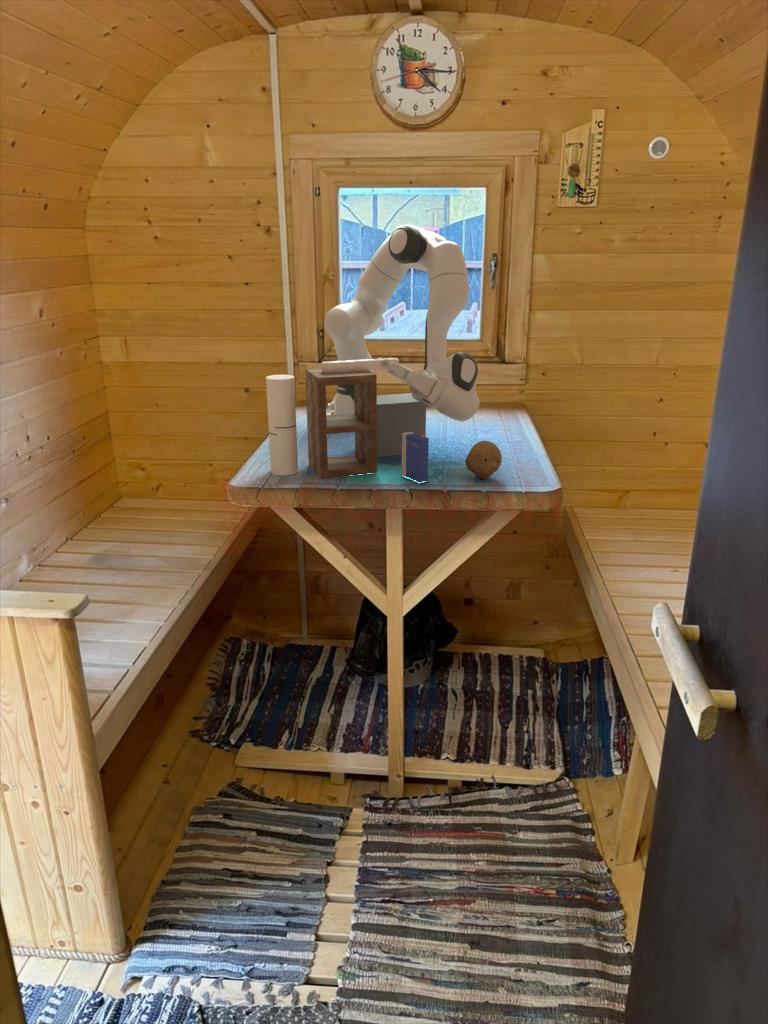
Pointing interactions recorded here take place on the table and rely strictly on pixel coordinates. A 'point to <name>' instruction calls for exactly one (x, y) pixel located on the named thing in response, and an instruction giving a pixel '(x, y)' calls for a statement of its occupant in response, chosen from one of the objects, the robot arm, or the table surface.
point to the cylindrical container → (282, 424)
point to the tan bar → (357, 365)
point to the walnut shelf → (342, 423)
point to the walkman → (415, 456)
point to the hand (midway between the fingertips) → (383, 362)
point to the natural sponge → (484, 459)
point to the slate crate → (398, 421)
